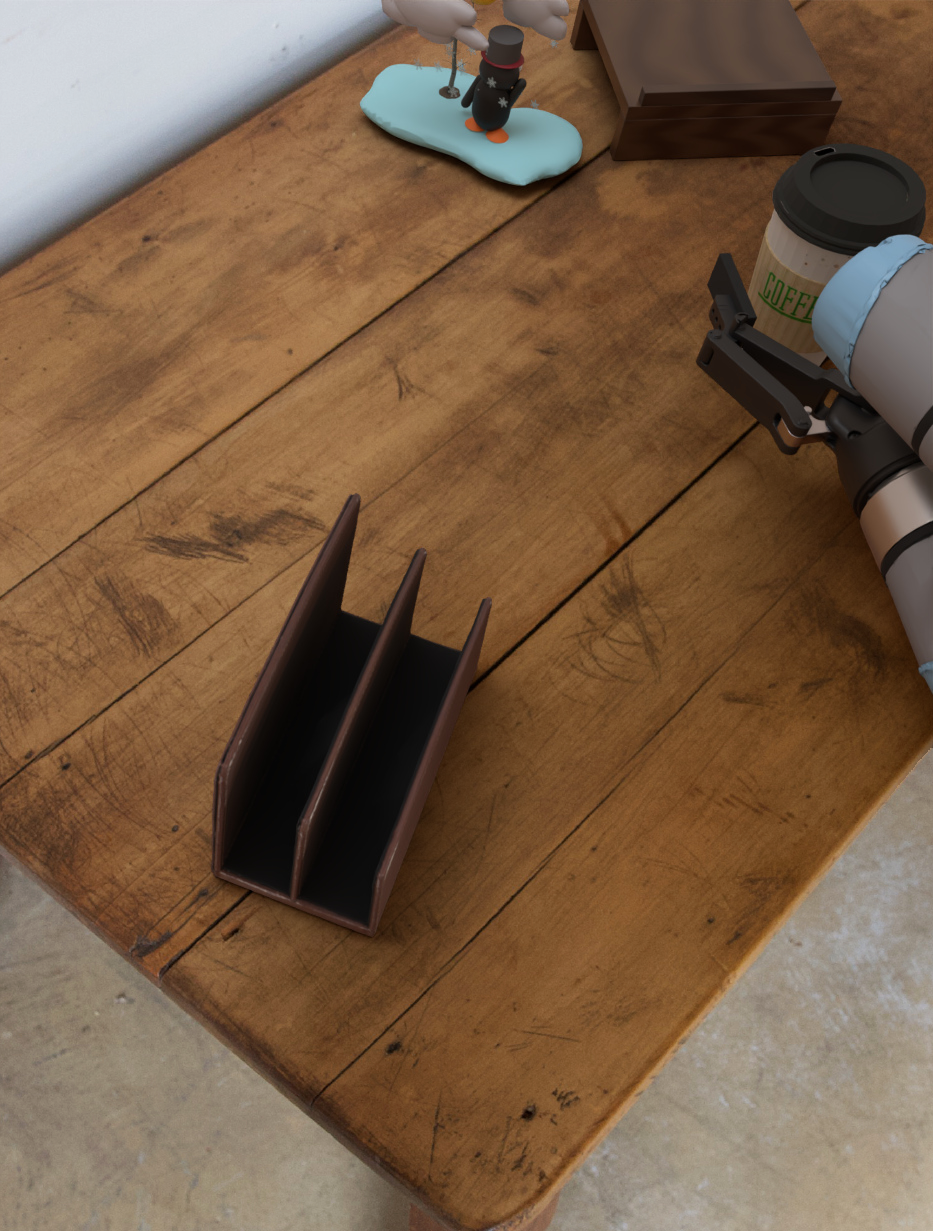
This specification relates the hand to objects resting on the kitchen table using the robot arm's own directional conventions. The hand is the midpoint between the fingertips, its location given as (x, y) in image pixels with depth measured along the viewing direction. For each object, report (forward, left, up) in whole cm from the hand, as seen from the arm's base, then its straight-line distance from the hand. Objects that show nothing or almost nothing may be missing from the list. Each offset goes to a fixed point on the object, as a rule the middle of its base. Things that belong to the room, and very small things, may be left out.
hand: (812, 264), depth 89 cm
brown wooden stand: (-2, -32, -8) cm, 33 cm away
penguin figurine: (+19, -27, -8) cm, 34 cm away
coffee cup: (0, +1, -8) cm, 8 cm away
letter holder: (+36, +34, -8) cm, 50 cm away
